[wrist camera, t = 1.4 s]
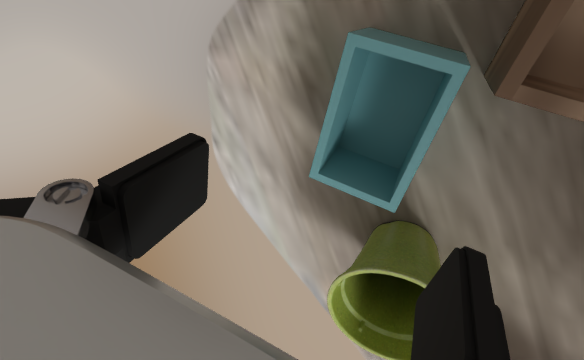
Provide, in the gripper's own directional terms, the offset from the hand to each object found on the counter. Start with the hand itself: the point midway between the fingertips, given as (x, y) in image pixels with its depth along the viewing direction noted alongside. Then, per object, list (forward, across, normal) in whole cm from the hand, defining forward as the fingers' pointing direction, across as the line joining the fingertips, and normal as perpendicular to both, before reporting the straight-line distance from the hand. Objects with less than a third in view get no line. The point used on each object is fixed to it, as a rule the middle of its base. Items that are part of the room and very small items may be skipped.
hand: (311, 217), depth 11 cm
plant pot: (+16, -7, +12) cm, 21 cm away
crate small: (+16, -1, 0) cm, 16 cm away
